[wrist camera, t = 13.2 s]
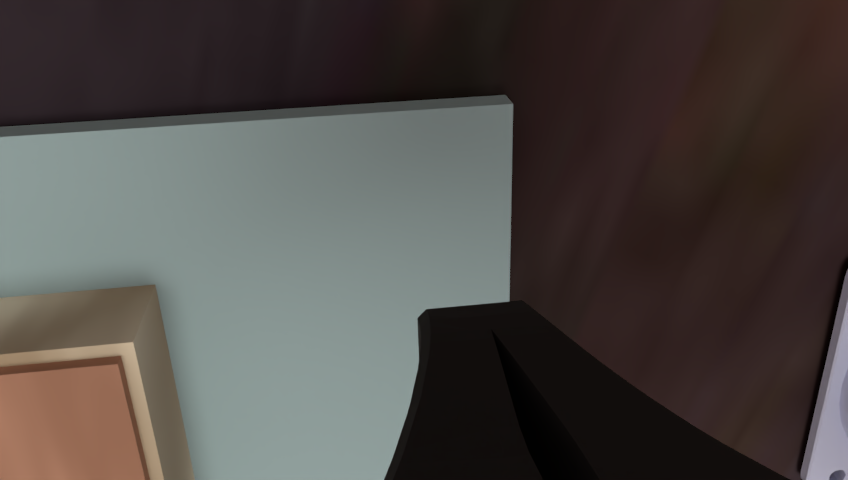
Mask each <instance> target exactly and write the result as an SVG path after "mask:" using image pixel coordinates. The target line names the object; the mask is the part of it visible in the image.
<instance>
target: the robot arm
mask: <svg viewBox="0 0 848 480" xmlns="http://www.w3.org/2000/svg"><path fill="white" fill-rule="evenodd" d="M417 320H418V346H419V364H418V371H417V375H416V379H415V384H414V388H413V393H412V397H411V402H410V406H409V409H408V413H407V416H406V419H405V422H404V425H403V428H402V431H401V434H400V437H399V440H398V443H397V446H396V449H395V452H394V455H393V458H392V461H391V463H390V466H389V468H388V471H387V473H386V476H385V478H384V480H790V479H788V478H786V477H784V476H782V475H780V474H778V473H776V472H774V471H772V470H771V469H769V468H767V467H765V466H763V465H761V464H760V463H758V462H756V461H754V460H752V459H750V458H749V457H747V456H745V455H743V454H741V453H739V452H738V451H736V450H734V449H732V448H730V447H728V446H727V445H725V444H723V443H721V442H720V441H718V440H716V439H714V438H713V437H711V436H709V435H708V434H706V433H704V432H703V431H701V430H699V429H698V428H696V427H694V426H693V425H691V424H690V423H688V422H687V421H685V420H684V419H682V418H681V417H679V416H677V415H676V414H674V413H673V412H671V411H670V410H668V409H667V408H665V407H664V406H662V405H660V404H659V403H657V402H656V401H654V400H653V399H651V398H650V397H648V396H647V395H646V394H644V393H643V392H641V391H640V390H638V389H637V388H635V387H634V386H633V385H631V384H630V383H628V382H627V381H626V380H624V379H623V378H621V377H620V376H619V375H617V374H616V373H615V372H613V371H612V370H611V369H609V368H608V367H606V366H605V365H604V364H602V363H601V362H600V361H598V360H597V359H596V358H595V357H593V356H592V355H591V354H589V353H588V352H587V351H585V350H584V349H583V348H582V347H580V346H579V345H578V344H577V343H575V342H574V341H573V340H571V339H570V338H569V337H568V336H566V335H565V334H564V333H563V332H561V331H560V330H559V329H558V328H556V327H555V326H554V325H553V324H551V323H550V322H549V321H548V320H546V319H545V318H544V317H543V316H541V315H540V314H539V313H538V312H536V311H535V310H534V309H533V308H531V307H530V306H529V305H527V304H526V303H525V302H523V301H522V300H521V301H510V302H499V303H488V304H477V305H466V306H455V307H444V308H433V309H426V310H425V311H424V312H423V313H422V314H421V315H420V316H419V317H418V318H417ZM801 478H802V480H848V269H847V272H846V275H845V279H844V284H843V288H842V292H841V297H840V301H839V306H838V310H837V314H836V319H835V323H834V328H833V332H832V336H831V341H830V345H829V349H828V354H827V358H826V363H825V367H824V371H823V376H822V380H821V385H820V389H819V393H818V398H817V402H816V407H815V411H814V415H813V420H812V424H811V429H810V433H809V437H808V442H807V446H806V451H805V455H804V459H803V464H802V468H801Z"/></svg>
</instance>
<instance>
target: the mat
mask: <svg viewBox="0 0 848 480" xmlns="http://www.w3.org/2000/svg"><path fill="white" fill-rule="evenodd" d="M512 141H513V103H512V102H511V101H510V100H509V98H508V97H507V96H506V95H494V96H478V97H463V98H447V99H431V100H415V101H400V102H384V103H368V104H352V105H337V106H321V107H305V108H289V109H274V110H258V111H242V112H226V113H211V114H195V115H179V116H163V117H148V118H132V119H116V120H100V121H85V122H69V123H53V124H37V125H22V126H6V127H0V298H3V297H15V296H27V295H38V294H50V293H62V292H74V291H85V290H97V289H109V288H121V287H132V286H144V285H156V290H157V295H158V300H159V305H160V310H161V315H162V320H163V325H164V330H165V335H166V339H167V344H168V349H169V354H170V359H171V364H172V369H173V374H174V379H175V384H176V389H177V394H178V399H179V404H180V409H181V414H182V419H183V423H184V428H185V433H186V438H187V443H188V448H189V453H190V458H191V463H192V468H193V473H194V478H195V480H384V478H385V476H386V473H387V471H388V468H389V466H390V463H391V461H392V458H393V455H394V452H395V449H396V446H397V443H398V440H399V437H400V434H401V431H402V428H403V425H404V422H405V419H406V416H407V413H408V409H409V406H410V402H411V397H412V393H413V388H414V384H415V379H416V375H417V371H418V364H419V346H418V320H417V318H418V317H419V316H420V315H421V314H422V313H423V312H424V311H425V310H426V309H433V308H444V307H455V306H466V305H477V304H488V303H499V302H509V296H510V245H511V193H512Z"/></svg>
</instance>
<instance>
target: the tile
mask: <svg viewBox="0 0 848 480" xmlns="http://www.w3.org/2000/svg"><path fill="white" fill-rule="evenodd" d="M0 480H195V478H194V473H193V468H192V463H191V458H190V453H189V448H188V443H187V438H186V433H185V428H184V423H183V419H182V414H181V409H180V404H179V399H178V394H177V389H176V384H175V379H174V374H173V369H172V364H171V359H170V354H169V349H168V344H167V339H166V335H165V330H164V325H163V320H162V315H161V310H160V305H159V300H158V295H157V290H156V285H144V286H132V287H121V288H109V289H97V290H85V291H74V292H62V293H50V294H38V295H27V296H15V297H3V298H0Z"/></svg>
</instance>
